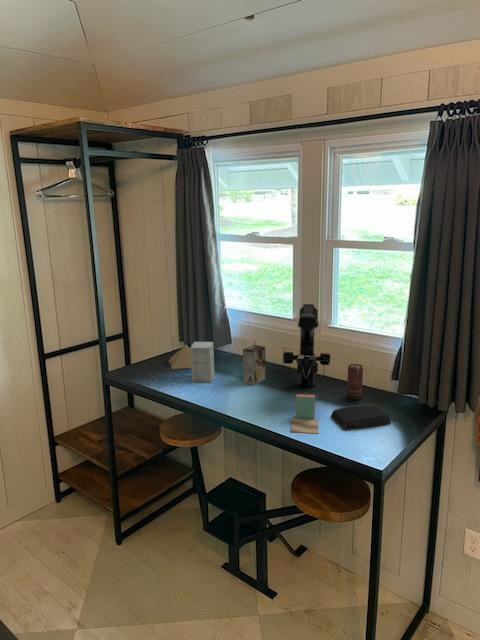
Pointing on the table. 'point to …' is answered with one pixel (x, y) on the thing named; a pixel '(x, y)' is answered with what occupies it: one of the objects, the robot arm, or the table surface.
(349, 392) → the can
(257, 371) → the coffee box
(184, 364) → the model pyramid
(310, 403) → the block
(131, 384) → the table surface
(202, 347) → the supplement box
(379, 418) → the external hard drive
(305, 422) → the brass plate
